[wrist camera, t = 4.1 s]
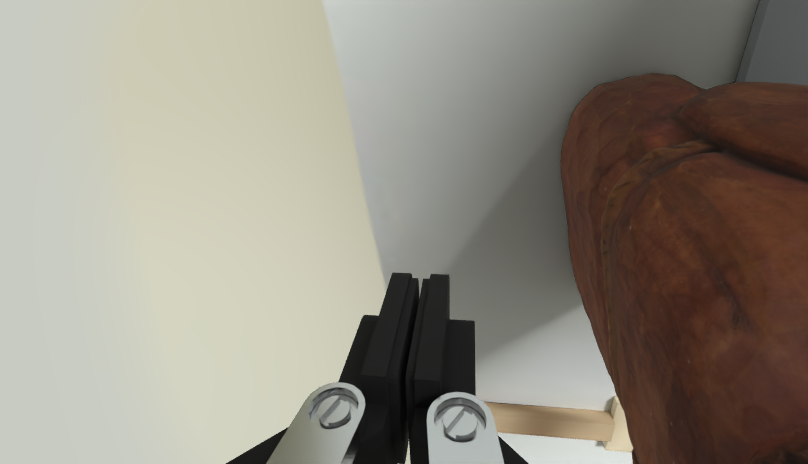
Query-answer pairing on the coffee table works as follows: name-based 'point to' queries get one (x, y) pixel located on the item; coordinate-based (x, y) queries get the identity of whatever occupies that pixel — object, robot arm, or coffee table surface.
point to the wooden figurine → (696, 262)
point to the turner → (565, 423)
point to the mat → (777, 44)
